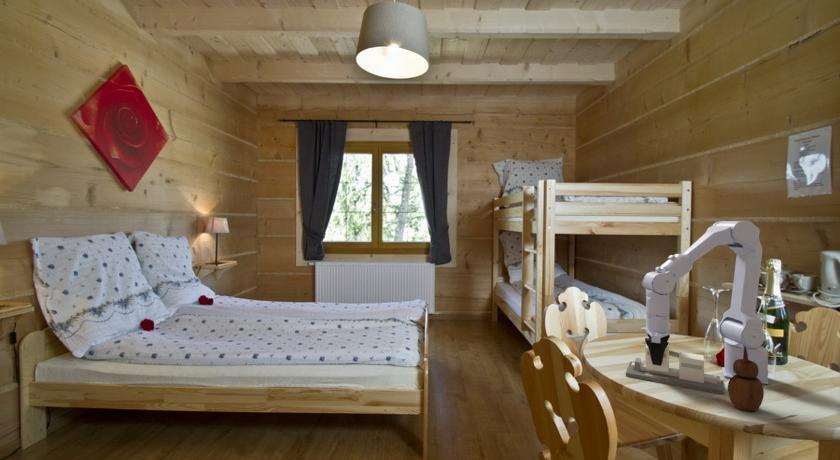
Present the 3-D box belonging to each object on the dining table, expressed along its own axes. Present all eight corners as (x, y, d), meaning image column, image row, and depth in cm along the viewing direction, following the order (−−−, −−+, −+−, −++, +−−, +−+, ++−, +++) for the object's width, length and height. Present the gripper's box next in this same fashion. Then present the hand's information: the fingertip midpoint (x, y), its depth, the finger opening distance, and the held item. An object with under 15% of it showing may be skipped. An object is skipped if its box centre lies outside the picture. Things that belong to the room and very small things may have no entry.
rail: (719, 379, 110) (719, 354, 110) (722, 394, 101) (722, 366, 101) (630, 364, 123) (630, 341, 123) (625, 376, 114) (625, 351, 113)
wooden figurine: (751, 416, 90) (751, 350, 89) (723, 405, 95) (723, 343, 95) (768, 410, 92) (768, 346, 92) (740, 400, 98) (740, 339, 97)
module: (669, 367, 114) (669, 346, 114) (668, 373, 110) (668, 351, 110) (647, 364, 118) (647, 343, 118) (645, 369, 113) (645, 347, 113)
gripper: (644, 308, 122) (644, 352, 122) (638, 317, 110) (638, 366, 110) (671, 310, 118) (671, 356, 118) (669, 321, 106) (669, 371, 106)
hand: (657, 361), depth 114 cm, fingers closed on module, 5 cm apart
